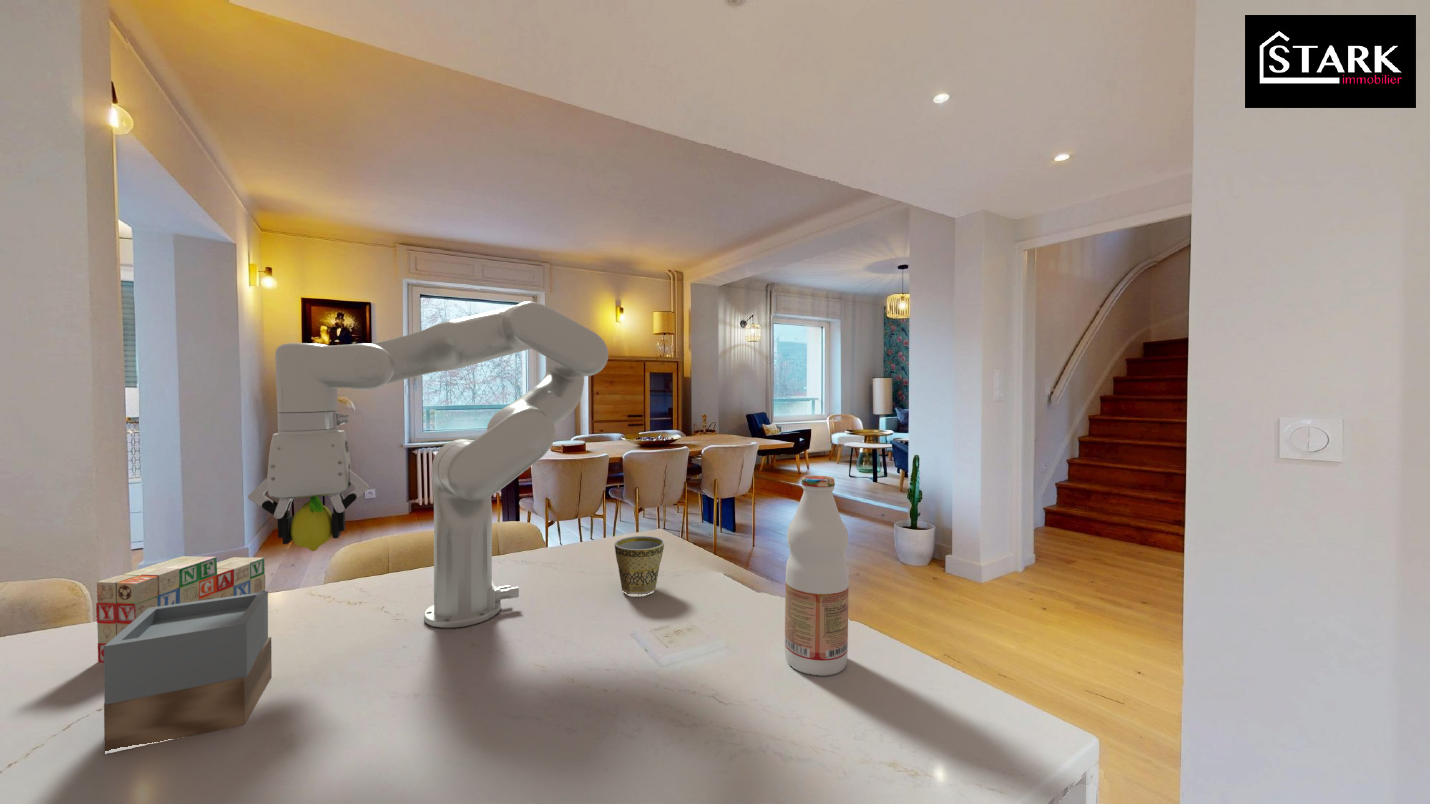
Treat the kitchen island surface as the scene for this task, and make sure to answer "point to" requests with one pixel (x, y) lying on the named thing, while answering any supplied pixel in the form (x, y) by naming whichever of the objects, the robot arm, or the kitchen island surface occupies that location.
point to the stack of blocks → (171, 589)
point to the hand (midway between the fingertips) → (312, 537)
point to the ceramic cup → (639, 563)
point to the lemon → (312, 525)
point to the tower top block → (185, 646)
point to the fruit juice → (817, 583)
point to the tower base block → (187, 709)
